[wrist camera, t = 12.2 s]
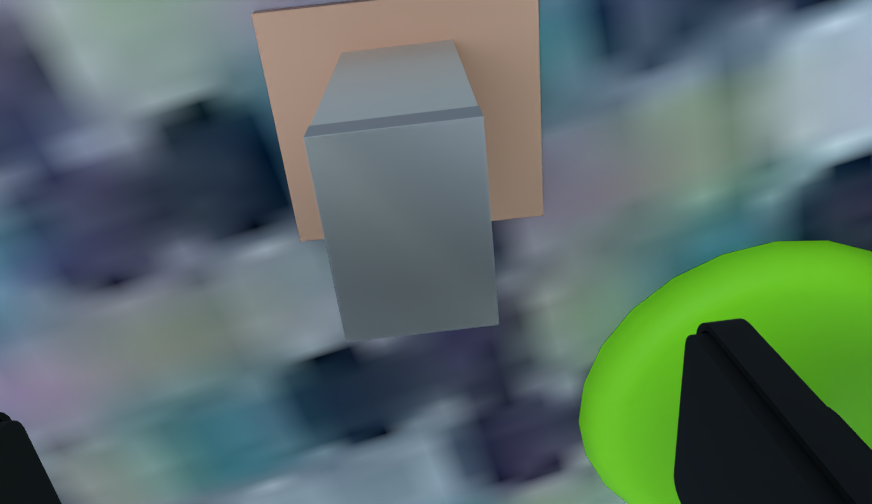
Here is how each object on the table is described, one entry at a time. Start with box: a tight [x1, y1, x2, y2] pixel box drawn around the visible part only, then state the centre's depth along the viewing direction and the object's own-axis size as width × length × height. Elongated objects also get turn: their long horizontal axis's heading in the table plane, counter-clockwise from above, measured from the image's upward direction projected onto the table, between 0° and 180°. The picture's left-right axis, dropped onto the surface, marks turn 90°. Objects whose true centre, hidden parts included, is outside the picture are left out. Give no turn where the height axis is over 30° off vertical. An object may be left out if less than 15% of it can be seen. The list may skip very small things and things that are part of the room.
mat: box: [251, 0, 543, 241], centre depth 23 cm, size 8×9×1 cm
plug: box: [303, 39, 499, 342], centre depth 18 cm, size 5×4×9 cm
